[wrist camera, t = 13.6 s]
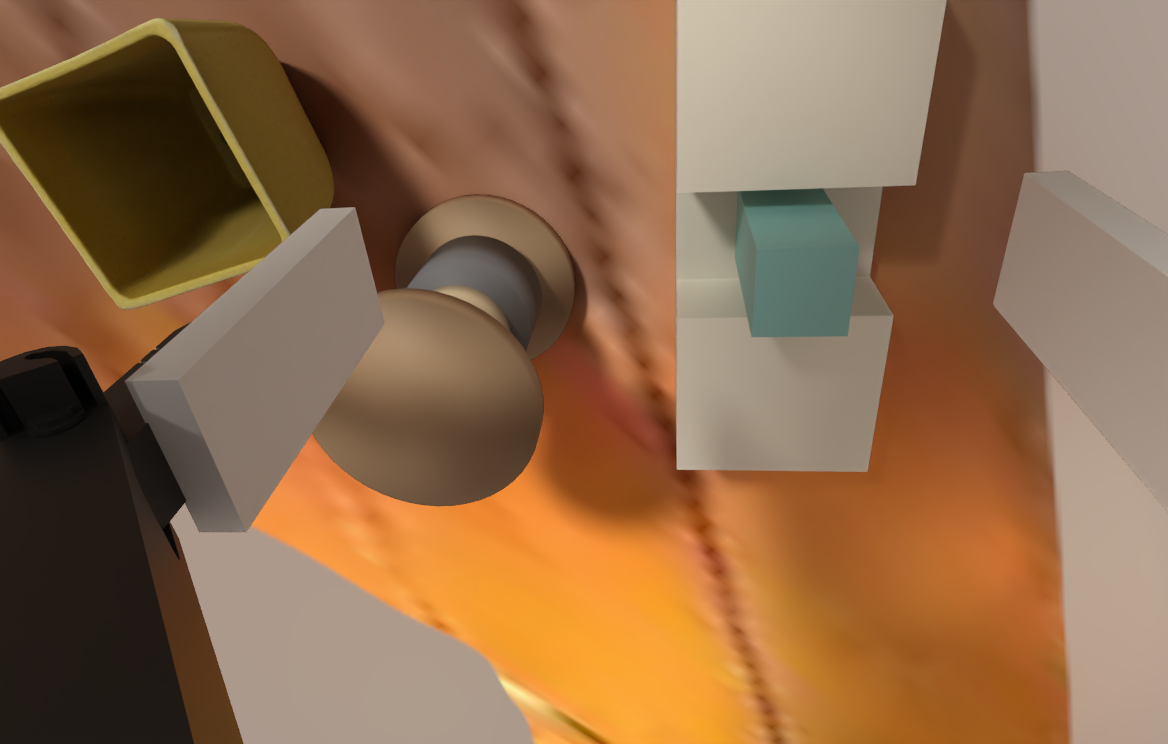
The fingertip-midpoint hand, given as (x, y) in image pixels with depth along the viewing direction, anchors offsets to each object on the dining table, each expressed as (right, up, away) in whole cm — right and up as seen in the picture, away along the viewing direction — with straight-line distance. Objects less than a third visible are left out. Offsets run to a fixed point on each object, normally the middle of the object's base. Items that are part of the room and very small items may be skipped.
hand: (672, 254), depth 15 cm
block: (+7, +4, +18) cm, 20 cm away
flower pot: (-17, +9, +20) cm, 28 cm away
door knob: (-7, +2, +22) cm, 23 cm away
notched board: (+7, +5, +19) cm, 21 cm away
